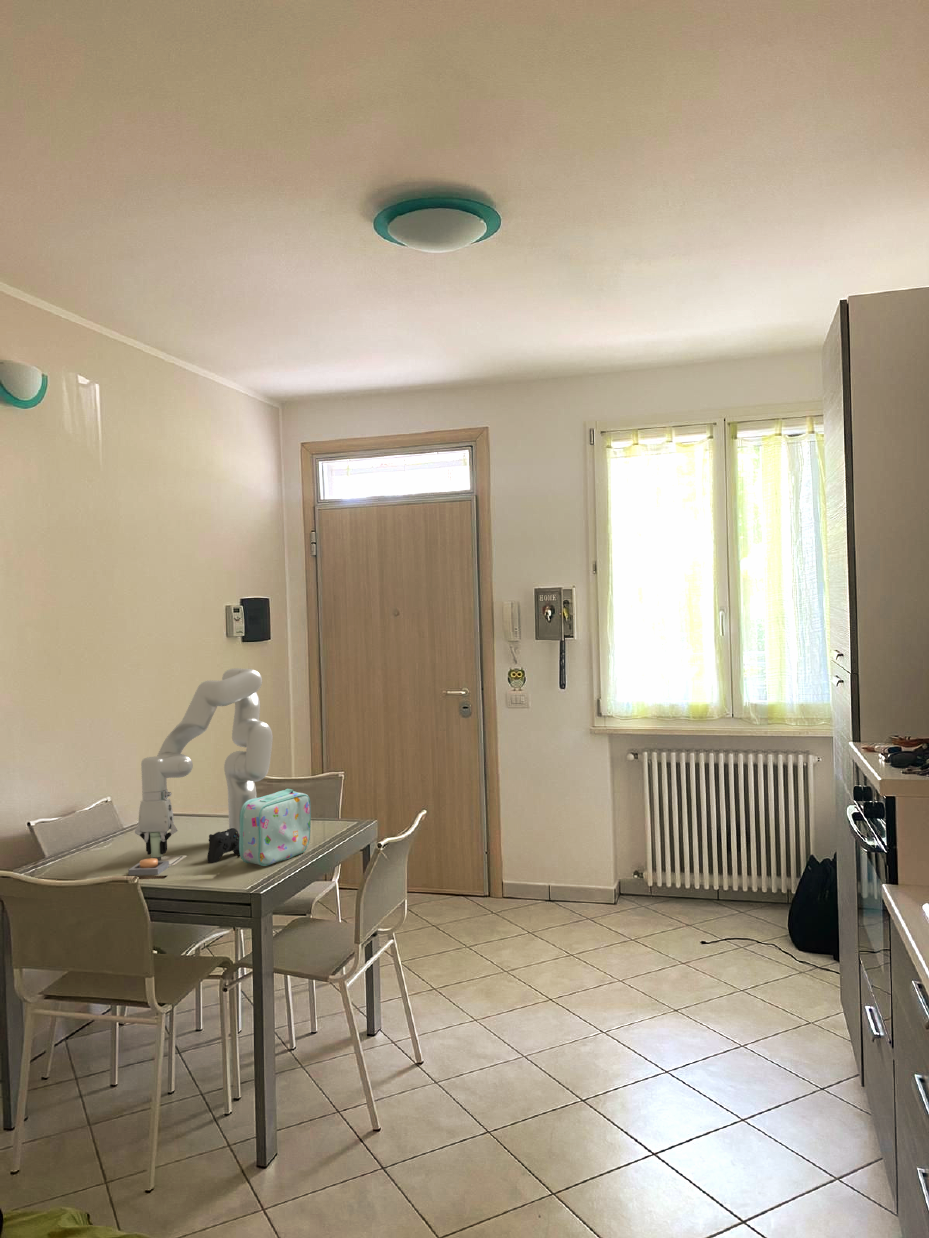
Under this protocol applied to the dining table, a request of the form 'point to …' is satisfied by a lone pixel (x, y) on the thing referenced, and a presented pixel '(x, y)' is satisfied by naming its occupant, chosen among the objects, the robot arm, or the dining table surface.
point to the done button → (149, 863)
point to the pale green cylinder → (155, 845)
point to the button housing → (149, 869)
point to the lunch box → (274, 827)
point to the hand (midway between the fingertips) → (156, 852)
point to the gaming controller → (223, 844)
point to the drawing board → (172, 861)
